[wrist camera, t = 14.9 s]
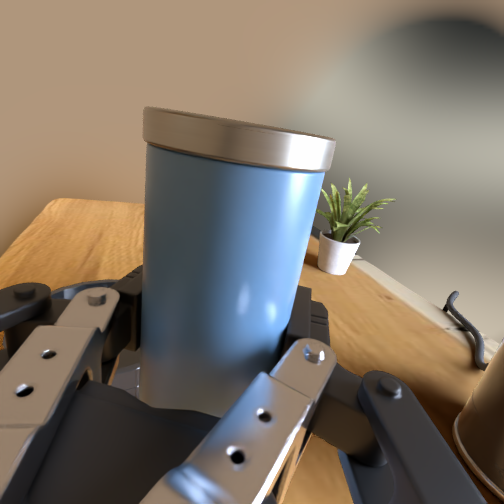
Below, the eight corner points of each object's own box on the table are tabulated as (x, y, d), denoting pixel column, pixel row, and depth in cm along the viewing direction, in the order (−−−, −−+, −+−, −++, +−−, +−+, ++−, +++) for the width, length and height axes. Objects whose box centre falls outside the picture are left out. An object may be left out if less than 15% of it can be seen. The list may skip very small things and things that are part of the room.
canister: (198, 428, 17) (238, 123, 11) (267, 500, 14) (367, 144, 9) (110, 497, 14) (104, 99, 8) (179, 612, 11) (252, 121, 5)
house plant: (375, 301, 47) (412, 196, 41) (288, 275, 51) (310, 175, 44) (372, 267, 60) (400, 184, 54) (303, 249, 63) (322, 169, 57)
